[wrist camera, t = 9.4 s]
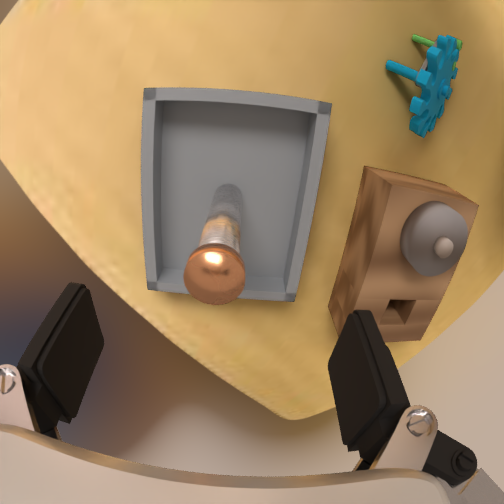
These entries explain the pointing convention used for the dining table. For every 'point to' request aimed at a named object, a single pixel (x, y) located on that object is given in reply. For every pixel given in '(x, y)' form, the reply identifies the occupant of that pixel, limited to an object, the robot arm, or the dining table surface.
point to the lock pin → (218, 252)
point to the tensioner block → (400, 252)
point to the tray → (230, 180)
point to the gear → (431, 80)
